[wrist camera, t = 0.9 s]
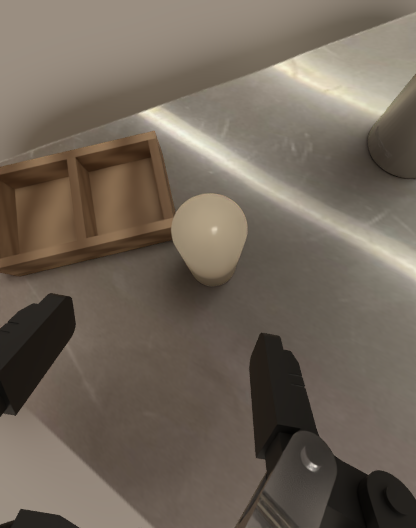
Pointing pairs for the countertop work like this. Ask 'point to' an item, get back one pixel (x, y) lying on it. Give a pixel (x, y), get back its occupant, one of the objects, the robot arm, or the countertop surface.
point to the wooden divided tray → (84, 204)
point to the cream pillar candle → (210, 237)
